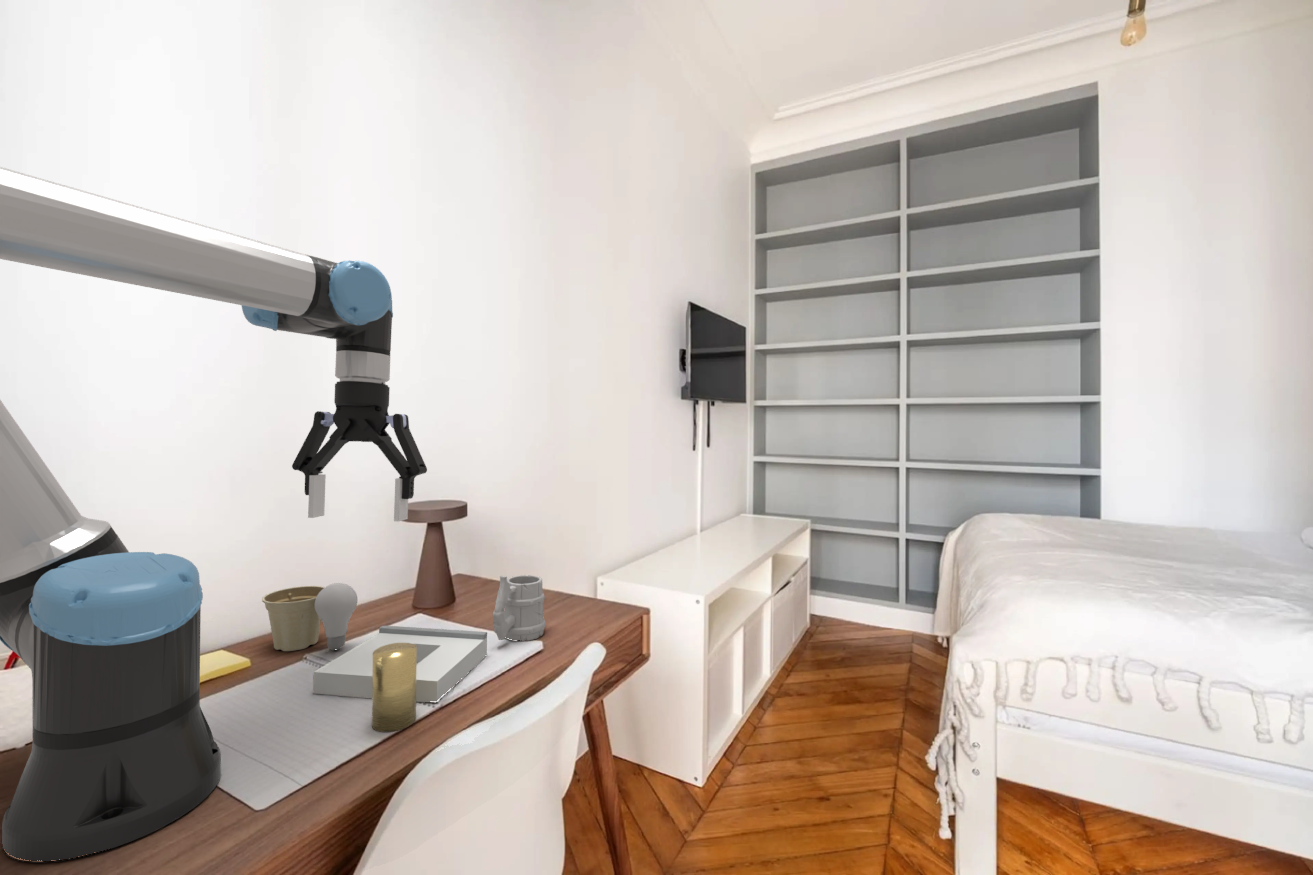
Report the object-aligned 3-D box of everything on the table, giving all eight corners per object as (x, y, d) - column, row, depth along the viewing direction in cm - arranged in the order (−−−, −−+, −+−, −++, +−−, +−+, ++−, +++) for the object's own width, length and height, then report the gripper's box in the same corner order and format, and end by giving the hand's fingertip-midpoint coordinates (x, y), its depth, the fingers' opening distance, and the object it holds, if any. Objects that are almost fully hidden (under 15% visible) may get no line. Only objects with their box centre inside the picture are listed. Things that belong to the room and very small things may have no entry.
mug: (553, 630, 102) (554, 565, 102) (513, 653, 91) (514, 581, 91) (519, 623, 105) (519, 560, 105) (476, 646, 94) (477, 575, 94)
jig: (437, 703, 75) (437, 675, 75) (313, 693, 77) (313, 666, 77) (486, 655, 91) (487, 631, 90) (383, 647, 93) (383, 625, 93)
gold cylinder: (401, 733, 67) (402, 659, 67) (363, 730, 68) (363, 657, 68) (423, 712, 72) (424, 643, 72) (387, 709, 73) (388, 641, 73)
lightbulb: (337, 659, 88) (338, 590, 88) (304, 655, 89) (305, 587, 89) (365, 644, 94) (366, 579, 94) (334, 641, 95) (334, 577, 95)
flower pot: (274, 661, 87) (274, 606, 87) (252, 646, 92) (253, 594, 92) (338, 643, 94) (338, 592, 94) (314, 630, 100) (315, 582, 100)
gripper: (451, 386, 90) (447, 518, 90) (302, 382, 91) (298, 512, 91) (429, 381, 82) (425, 525, 82) (268, 377, 84) (263, 518, 83)
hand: (358, 518), depth 87 cm, fingers open, 13 cm apart
